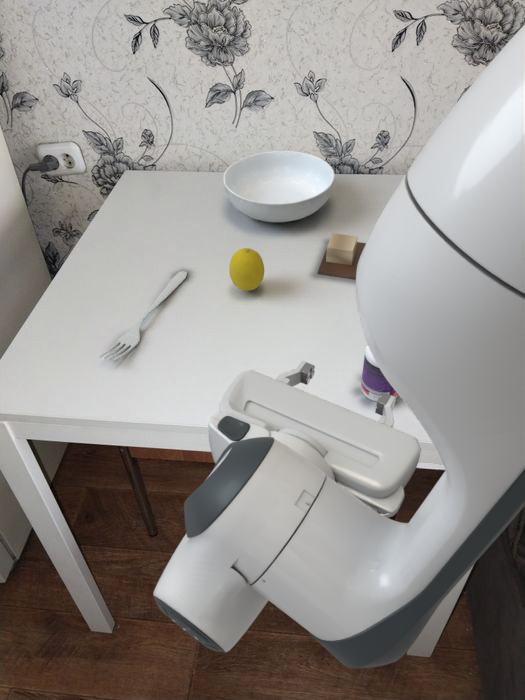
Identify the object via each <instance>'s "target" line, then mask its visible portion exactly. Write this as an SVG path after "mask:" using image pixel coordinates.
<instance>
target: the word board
mask: <svg viewBox="0 0 525 700" xmlns="http://www.w3.org/2000/svg"><path fill="white" fill-rule="evenodd" d="M358 238H359V237H358V236H356V235H350V234H349V235H348V234H340V233H334V232H332V233H331V235H330V238H329V241H328V244H327V246H326V249H325V252H324V254H323V257H322V259H321V262H320V264H319V267H318V270H317V274H318V275H324V276H331V277H338V278H343V279H351V280H356V272H357V265H358V262H359V259H360V256H361V254H362V251H363V249H364V247H365V245H366V243H367V242H366V243H365V242H360V241H358Z"/></svg>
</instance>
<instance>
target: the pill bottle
mask: <svg viewBox="0 0 525 700" xmlns="http://www.w3.org/2000/svg"><path fill="white" fill-rule="evenodd" d="M363 356H364V357H363V363H362V372H361V380H360V389H361V392H362V393H363V395H364V396H365V397H366V398H367V399H369V400H371V401H373V402H375V403H377V401H378V399H379V397H381V394H382V393H383V392H384V393H386V394H389V395H392V396H394V397H396V399H397V398H398V397H400V396H399V394H398V393H397V392H396V391H395V390H394V388H393V387H392V386H391V385H390V383H389V382H388V381H387V379H386V378H385V376H384V375H383V373H382V372H381V370H380V368H379V366H378V365H377V363H376V361H375V359H374V357H373V355H372V353H371V351H370V349H369V346H368V344H367V343H366V346H365V350H364V355H363Z"/></svg>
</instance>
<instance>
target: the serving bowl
mask: <svg viewBox="0 0 525 700" xmlns="http://www.w3.org/2000/svg"><path fill="white" fill-rule="evenodd" d="M335 180H336V174H335V171H334V168H333V167H332V166H331V164H329V163H328V162H327V161H326V160H325V159H322V158H321V157H318V156H316V155H314V154H311V153H307V152H301V151H296V150H271V151H263V152H259V153H253V154H250V155H248V156H244V157H242V158H240V159H237V160H236V161H235V162H233V163H231V164H230V166H228V167H227V168H226V170H225V171H224V173H223V176H222V182H223V187H224V190H225V191H224V192H225V194H226V196H227V198H228V200H229V201H230V203H231V204H232V206H233V207H235V209H237V210H238V211H239V212H240V213H241V214H243V215H245V216H247V217H249V218H251V219H254V220H258V221H262V222H269V223H286V222H292V221H298V220H301V219H304V218H307V217H308V216H311V215H312V214H314V213H316V212H317V211H319V209H321V208H322V207H323V206H324V205H325V204H326V203H327V201H328V199H329V198H330V196H331V194H332V191H333V189H334V185H335Z"/></svg>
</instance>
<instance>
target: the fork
mask: <svg viewBox="0 0 525 700" xmlns="http://www.w3.org/2000/svg"><path fill="white" fill-rule="evenodd" d="M187 276H188V272H187V271H185V270H181V271H179V272H177V273H176V274H175V275H174V276H173V277H172V279H171V280H170V281H169V282H168V284H167V285H166V286H165V288H164V289H163V290H162V291H161V292H160V294H159V295H158V296H157V298H156V299H155V300H154V301H153V303H152V304H151V305H150V306H149V307H148V308H147V310H145V312H143V314H142V315H141V316H140V318H138V320H137V321H136V323H135V325H134V326H133V327H131V329H130V330H129V331H127V332H126V333H125V334H123V335H122V336H121V337H120V338H119V339H118V340H116V342H115V343H114V344H113V345H112V346H111V347H109V348H108V349H106V351H104V352H103V353H101V354H100V355H99V356H98V358H102V357H103V358H102V359H103V360H106V359H107V358H108V357H109V358H108V359H107V361H109V362H110V361H111V360H112V361H111V362H112V363H114V362H116V361H117V360H119V359H121V358H122V357H123V356H125V355H126V354H128V353H129V352H131V351H132V350H133V349H134V348H135V347H136V346H137V345H138V344H139V343H140V341H141V332H140V329H141V325H142V324H143V321H144V320H145V319H146V318H147V316H148V315H150V314H151V313H152V312H153V310H155V309H156V308H157V307H158V306H159V305H160V304H161V303H163V302H164V301H165V300H166V299H167V298H168V297H169V296H170V295H171V294H172V293H173V292H174V291H175V290H176V289H177V288H178V287H179V286H180V285H181V284H182V283H183V282H184V281H185V279H186V278H187ZM117 345H118V346H117ZM119 349H120V350H119ZM118 350H119V351H118ZM122 352H123V353H122ZM115 357H116V358H115Z"/></svg>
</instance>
